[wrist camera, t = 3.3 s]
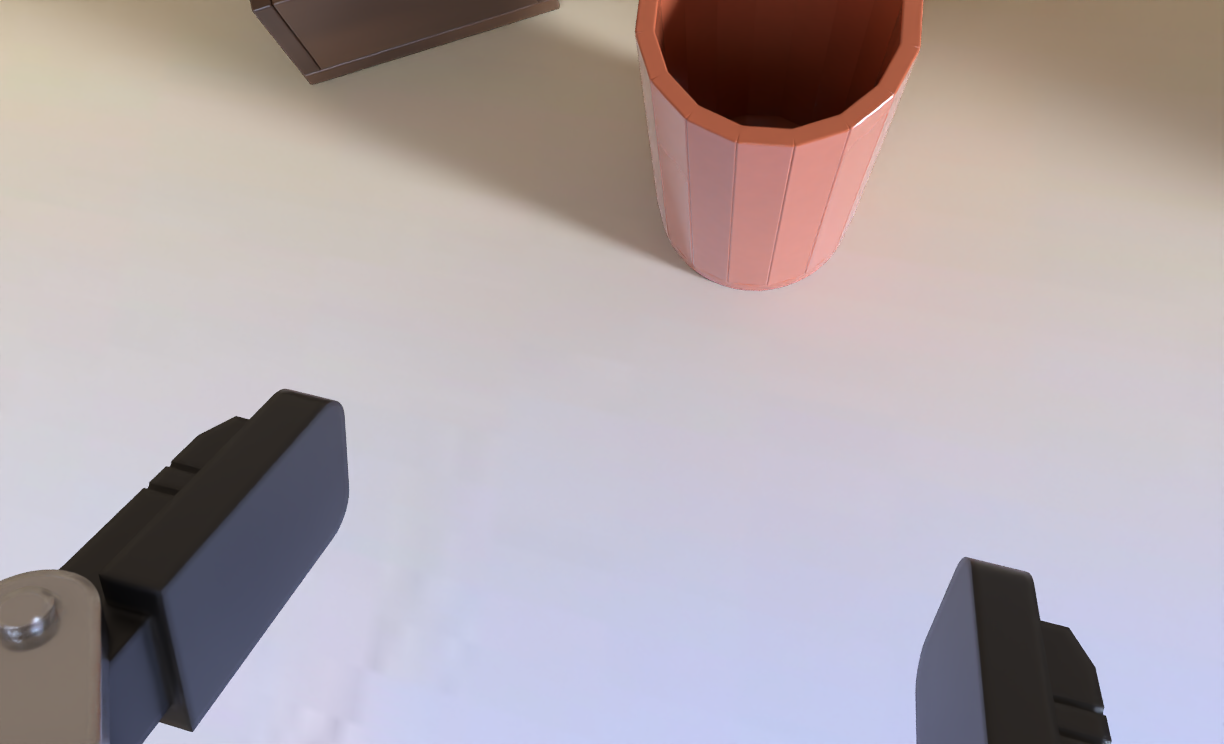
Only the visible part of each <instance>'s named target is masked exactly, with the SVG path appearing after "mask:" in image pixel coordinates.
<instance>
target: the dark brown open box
mask: <svg viewBox="0 0 1224 744" xmlns="http://www.w3.org/2000/svg"><path fill="white" fill-rule="evenodd" d="M250 3H251V7H252V11H253V13H254V14H255V15H256V16H257V18H258V19H259V20H260V21H261V23H262V24H263V25H264V26H265V28H266V29H267V30H268V31H269V33H270V34H271V35H272V36H273V38H274V39H275V40H276V41H277V43H278V44H279V45H280V46H281V48H282V49H283V50H284V51H285V53H286V54H287V55H288V56H289V58H290V59H291V60H292V61H293V63H294V64H295V65H296V66H297V68H298V69H299V70H300V71H301V73H302V74H303V75H304V76H305V78H306V79H307V80H308V81H309V83H310V84H311V85H313V84H317V83H320V82H323V81H326V80H330V79H333V78H336V77H339V76H343V75H346V74H349V73H352V72H355V71H359V70H362V69H365V68H368V67H372V66H375V65H378V64H381V63H384V62H388V61H391V60H394V59H397V58H401V57H404V56H407V55H410V54H414V53H417V52H420V51H423V50H426V49H430V48H433V47H436V46H439V45H443V44H446V43H449V42H452V41H455V40H459V39H462V38H465V37H468V36H472V35H475V34H478V33H481V32H484V31H488V30H491V29H494V28H497V27H501V26H504V25H507V24H510V23H514V22H517V21H520V20H523V19H526V18H530V17H533V16H536V15H539V14H543V13H546V12H549V11H552V10H555V9H558V8H559V6H560V5H559V2H558V0H250Z"/></svg>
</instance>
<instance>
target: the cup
mask: <svg viewBox="0 0 1224 744" xmlns="http://www.w3.org/2000/svg"><path fill="white" fill-rule="evenodd" d="M922 17H923V0H639V4H638V12H637V20H636V28H635V37H636V44H637V52H638V59H639V67H640V74H641V82H642V89H643V97H644V104H645V112H646V119H647V127H648V134H649V142H650V149H651V157H652V164H653V172H654V179H655V187H656V194H657V202H658V206H659V209H660V213H661V218H662V222H663V226H664V229H665V232H666V234H667V237H668V239H669V241H670V242H671V244H672V246H673V248H674V249H675V251H676V252H677V253H678V255H679V256H680V257H681V258H682V259H683V260H684V261H685V262H686V263H687V264H688V265H689V266H690V267H691V268H692V269H694V270H695V271H696V272H697V273H699V274H700V275H702V276H704V277H705V278H707V279H709V280H711V281H713V282H716V283H718V284H720V285H723V286H727V287H731V288H735V289H741V290H757V291H760V290H770V289H775V288H780V287H784V286H787V285H790V284H792V283H795V282H797V281H799V280H801V279H803V278H805V277H807V276H809V275H810V274H812V273H813V272H814V271H816V270H817V269H819V268H820V267H821V266H822V265H823V264H824V263H825V262H826V261H827V260H828V259H829V258H830V257H831V256H832V254H833V253H834V252H835V251H836V249H837V248H838V246H839V245H840V243H841V241H842V239H843V237H844V235H845V233H846V231H847V228H848V226H849V225H850V223H851V221H852V219H853V217H854V214H855V212H856V209H857V207H858V204H859V202H860V199H861V197H862V194H863V192H864V189H865V187H866V184H867V182H868V179H869V177H870V174H871V172H872V169H873V167H874V164H875V162H876V159H877V156H878V154H879V151H880V149H881V146H882V144H883V141H884V139H885V136H886V134H887V131H888V129H889V126H890V124H891V121H892V119H893V116H894V114H895V111H896V109H897V106H898V104H899V101H900V99H901V96H902V94H903V91H904V89H905V86H906V84H907V81H908V79H909V76H910V74H911V71H912V69H913V66H914V64H915V61H916V59H917V56H918V54H919V50H920V47H921V34H922Z"/></svg>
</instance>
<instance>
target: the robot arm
mask: <svg viewBox="0 0 1224 744" xmlns="http://www.w3.org/2000/svg"><path fill="white" fill-rule="evenodd" d="M348 498H349V479H348V463H347V447H346V431H345V416H344V410H343V407H342V405H341V404H340V403H339V402H337V401H334V400H330V399H326V398H322V397H318V396H314V395H310V394H306V393H302V392H297V391H293V390H289V389H282V390H280V391H278V392H276V393H275V394H274V395H273V396H272V397H271V398H270V399H269V400H268V401H267V402H266V403H265V404H264V405H263V406H262V407H261V408H260V409H259V410H258V411H257V412H256V413H255V414H254V415H253V416H252V417H251V418H250V419H245V418H241V417H237V416H235V417H233V418H231V419H229V420H227V421H226V422H224V423H222V424H220V425H218V426H216V427H214V428H212V429H210V430H208V431H206V432H204V433H202V434H200V435H198V436H197V437H196V438H195V439H194V440H193V441H192V442H191V443H190V444H189V445H188V446H187V447H186V448H185V449H183V450H182V451H181V452H180V453H179V454H178V455H177V456H176V457H175V458H174V459H173V460H172V461H171V465H170V467H167V466H166V467H165V468H164V469H163V470H162V471H161V472H160V473H159V474H158V475H157V476H156V477H155V478H154V479H152V480H151V481H150V482H149V487H148V488H147V489H146V488H143V489H142V490H141V491H140V492H139V493H138V494H137V495H136V496H135V497H134V498H133V499H132V500H131V501H130V502H129V503H128V504H127V505H126V506H125V507H124V508H122V509H121V510H120V511H119V512H118V513H117V514H116V515H115V516H114V517H113V518H112V519H111V520H110V521H109V522H108V523H107V524H106V525H105V526H104V527H103V528H102V529H101V530H100V531H99V532H98V533H97V534H96V535H95V536H94V537H92V538H91V539H90V540H89V541H88V542H87V543H86V544H85V545H84V546H83V547H82V548H81V549H80V550H79V551H78V552H77V553H76V554H75V555H74V556H73V557H72V558H71V559H70V560H69V561H68V562H67V563H66V564H65V565H63V566H62V567H61V568H60V569H59V570H38V571H31V572H26V573H22V574H18V575H15V576H12V577H9V578H6V579H4V580H2V581H0V744H142V743H143V742H144V741H145V739H146V738H147V737H148V735H149V734H150V733H151V732H152V730H153V729H154V728H155V726H156V725H157V724H158V722H161V723H164V724H168V725H171V726H174V727H177V728H181V729H184V730H187V731H190V732H193V731H194V729H195V728H196V727H197V725H198V724H199V723H200V721H201V720H202V718H203V717H204V716H205V714H206V713H207V712H208V710H209V709H210V707H211V706H212V705H213V703H214V702H215V700H216V699H217V698H218V696H219V695H220V694H221V692H222V691H223V689H224V688H225V687H226V685H227V684H228V682H229V681H230V680H231V678H232V677H233V676H234V674H235V673H236V671H237V670H238V669H239V667H240V666H241V665H242V663H243V662H244V660H245V659H246V658H247V656H248V655H249V653H250V652H251V651H252V649H253V648H254V647H255V645H256V644H257V642H258V641H259V640H260V638H261V637H262V636H263V634H264V633H265V631H266V630H267V629H268V627H269V626H270V624H271V623H272V622H273V620H274V619H275V618H276V616H277V615H278V613H279V612H280V611H281V609H282V608H283V607H284V605H285V604H286V602H287V601H288V600H289V598H290V597H291V595H292V594H293V593H294V591H295V590H296V589H297V587H298V586H299V584H300V583H301V582H302V580H303V579H304V578H305V576H306V575H307V573H308V572H309V571H310V569H311V568H312V566H313V565H314V564H315V562H316V561H317V560H318V558H319V557H320V555H321V554H322V553H323V551H324V550H325V548H326V547H327V546H328V544H329V543H330V542H331V540H332V539H333V537H334V536H335V534H336V533H337V531H338V529H339V527H340V525H341V523H342V520H343V518H344V515H345V512H346V508H347V504H348ZM1103 709H1104V705H1103V700H1102V696H1101V691H1100V686H1099V682H1098V677H1097V673H1096V668H1095V666H1094V665H1093V663H1092V662H1091V660H1090V659H1089V657H1088V656H1087V654H1086V653H1085V651H1084V650H1083V648H1082V647H1081V645H1080V644H1079V642H1078V641H1077V639H1076V638H1075V636H1074V635H1073V633H1072V632H1071V630H1070V629H1069V628H1068V627H1064V626H1060V625H1056V624H1052V623H1048V622H1044V621H1040V616H1039V610H1038V604H1037V598H1036V593H1035V587H1034V582H1033V578H1032V576H1031V575H1030V573H1028V572H1025V571H1021V570H1017V569H1013V568H1009V567H1005V566H1000V565H996V564H992V563H988V562H984V561H980V560H976V559H972V558H968V557H964V558H963V559H962V560H961V561H960V562H959V564H958V566H957V568H956V570H955V572H954V574H953V577H952V579H951V581H950V584H949V586H948V588H947V591H946V593H945V595H944V598H943V600H942V602H941V605H940V607H939V609H938V611H937V614H936V616H935V618H934V621H933V623H932V625H931V628H930V630H929V632H928V635H927V637H926V639H925V642H924V645H923V648H922V652H921V655H920V660H919V665H918V670H917V678H916V737H917V744H1111V736H1110V732H1109V727H1108V723H1107V718H1106V716H1105V715H1103Z"/></svg>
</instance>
